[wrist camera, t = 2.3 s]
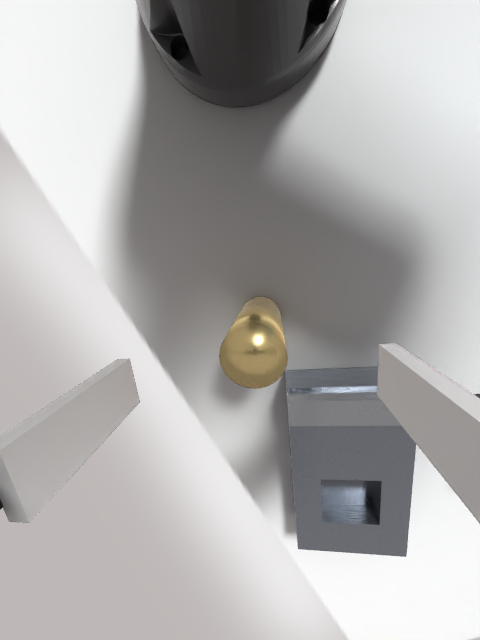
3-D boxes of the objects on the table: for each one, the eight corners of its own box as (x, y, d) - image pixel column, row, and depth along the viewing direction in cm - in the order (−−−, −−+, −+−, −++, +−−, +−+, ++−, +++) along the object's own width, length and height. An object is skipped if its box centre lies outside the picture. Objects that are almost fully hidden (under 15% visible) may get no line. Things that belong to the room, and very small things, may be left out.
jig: (284, 370, 24) (288, 398, 20) (399, 365, 23) (433, 395, 18) (294, 515, 29) (299, 567, 24) (389, 520, 28) (415, 576, 23)
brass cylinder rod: (238, 298, 23) (215, 327, 14) (279, 294, 23) (284, 322, 13) (242, 336, 24) (223, 389, 15) (281, 334, 24) (289, 387, 14)
